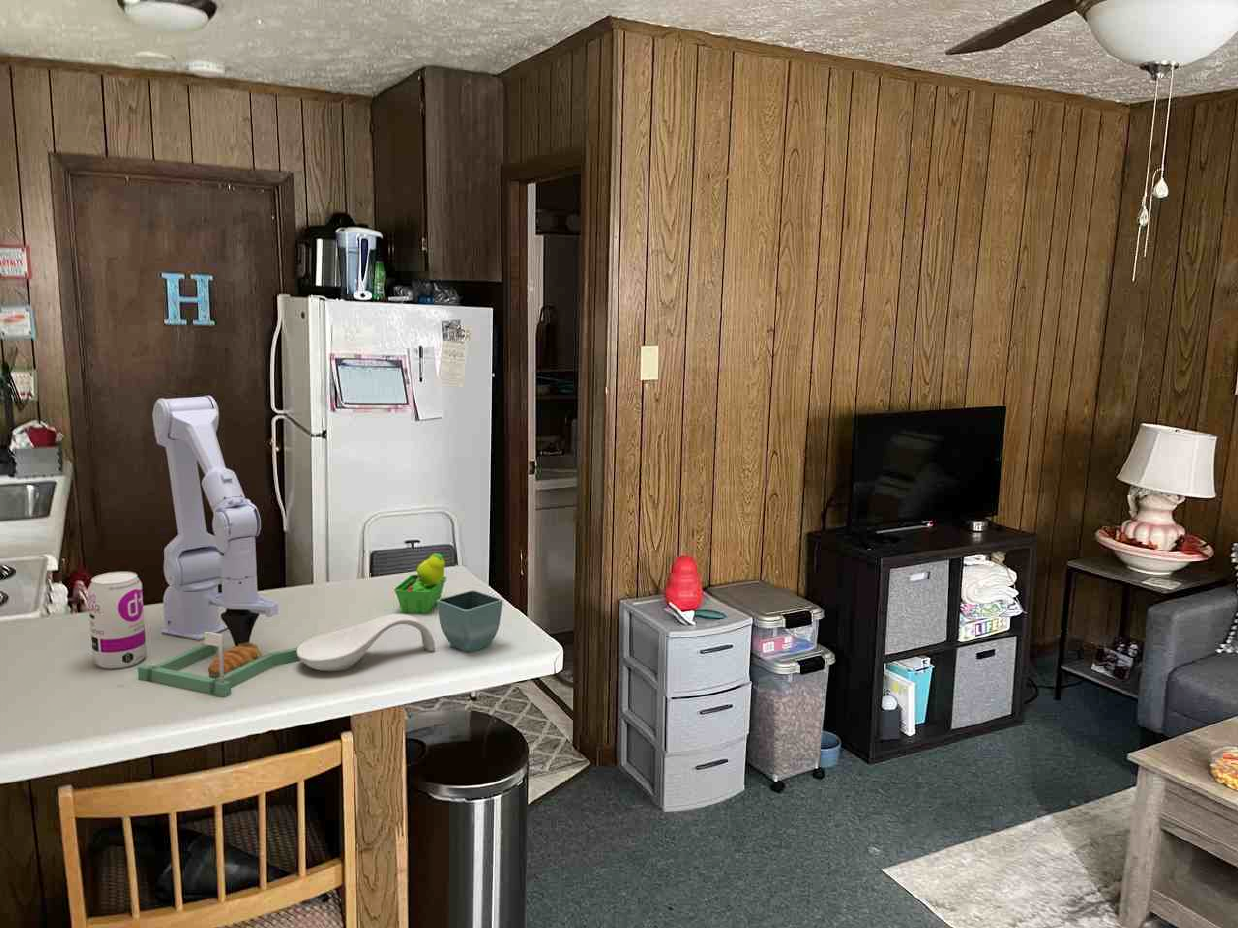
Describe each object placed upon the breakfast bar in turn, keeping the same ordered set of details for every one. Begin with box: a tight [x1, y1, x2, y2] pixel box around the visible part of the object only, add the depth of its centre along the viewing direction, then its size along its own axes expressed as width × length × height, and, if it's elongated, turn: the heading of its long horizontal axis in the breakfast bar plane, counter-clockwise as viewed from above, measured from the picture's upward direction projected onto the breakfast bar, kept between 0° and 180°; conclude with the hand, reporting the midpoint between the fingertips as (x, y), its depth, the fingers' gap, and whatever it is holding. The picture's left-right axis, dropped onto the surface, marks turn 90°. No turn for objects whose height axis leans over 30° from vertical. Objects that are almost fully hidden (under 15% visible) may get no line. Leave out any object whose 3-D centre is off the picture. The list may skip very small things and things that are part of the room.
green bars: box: [137, 632, 301, 698], centre depth 166 cm, size 19×18×10 cm
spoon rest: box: [297, 613, 436, 672], centre depth 172 cm, size 24×12×7 cm, turn 121°
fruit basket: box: [394, 553, 447, 614], centre depth 201 cm, size 11×9×11 cm
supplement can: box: [87, 571, 148, 670], centre depth 168 cm, size 8×8×15 cm
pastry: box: [207, 641, 264, 679], centre depth 166 cm, size 9×7×4 cm
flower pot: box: [436, 589, 504, 653], centre depth 179 cm, size 9×9×9 cm
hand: (242, 649), depth 172 cm, fingers closed
